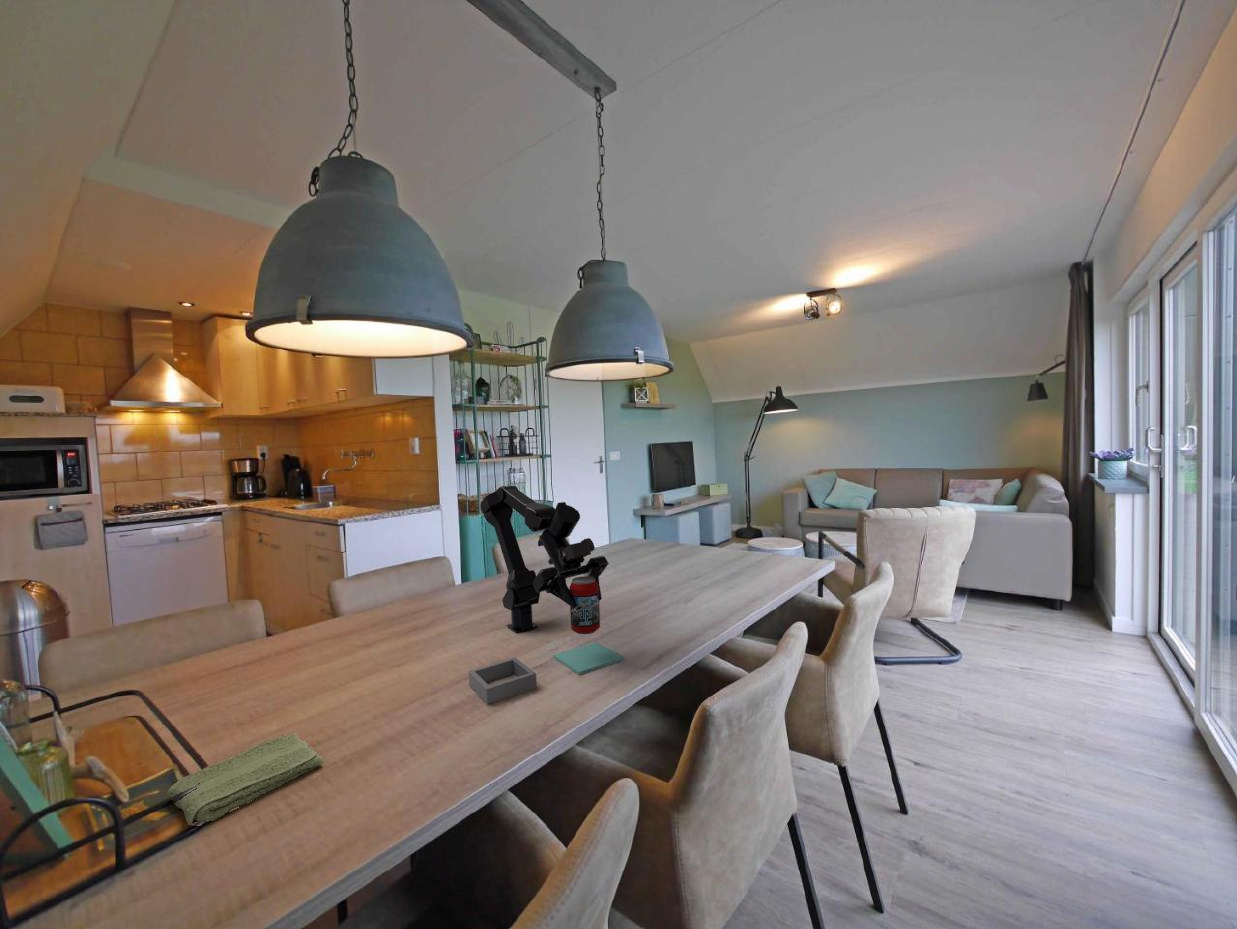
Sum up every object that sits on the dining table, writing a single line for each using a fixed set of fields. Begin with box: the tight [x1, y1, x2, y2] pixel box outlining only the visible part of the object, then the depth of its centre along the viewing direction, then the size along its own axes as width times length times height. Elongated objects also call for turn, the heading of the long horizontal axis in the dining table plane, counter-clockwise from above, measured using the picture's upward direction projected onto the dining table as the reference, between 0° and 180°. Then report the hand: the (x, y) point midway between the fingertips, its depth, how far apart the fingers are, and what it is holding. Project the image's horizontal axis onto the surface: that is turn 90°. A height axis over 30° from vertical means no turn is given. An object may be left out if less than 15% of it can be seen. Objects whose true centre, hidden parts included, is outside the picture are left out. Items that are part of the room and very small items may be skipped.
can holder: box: [467, 657, 538, 705], centre depth 109 cm, size 11×11×3 cm
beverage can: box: [568, 575, 601, 635], centre depth 120 cm, size 7×7×12 cm
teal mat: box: [552, 641, 625, 676], centre depth 121 cm, size 12×12×1 cm
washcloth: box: [166, 733, 324, 826], centre depth 81 cm, size 13×18×3 cm
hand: (588, 603), depth 119 cm, fingers closed on beverage can, 7 cm apart
